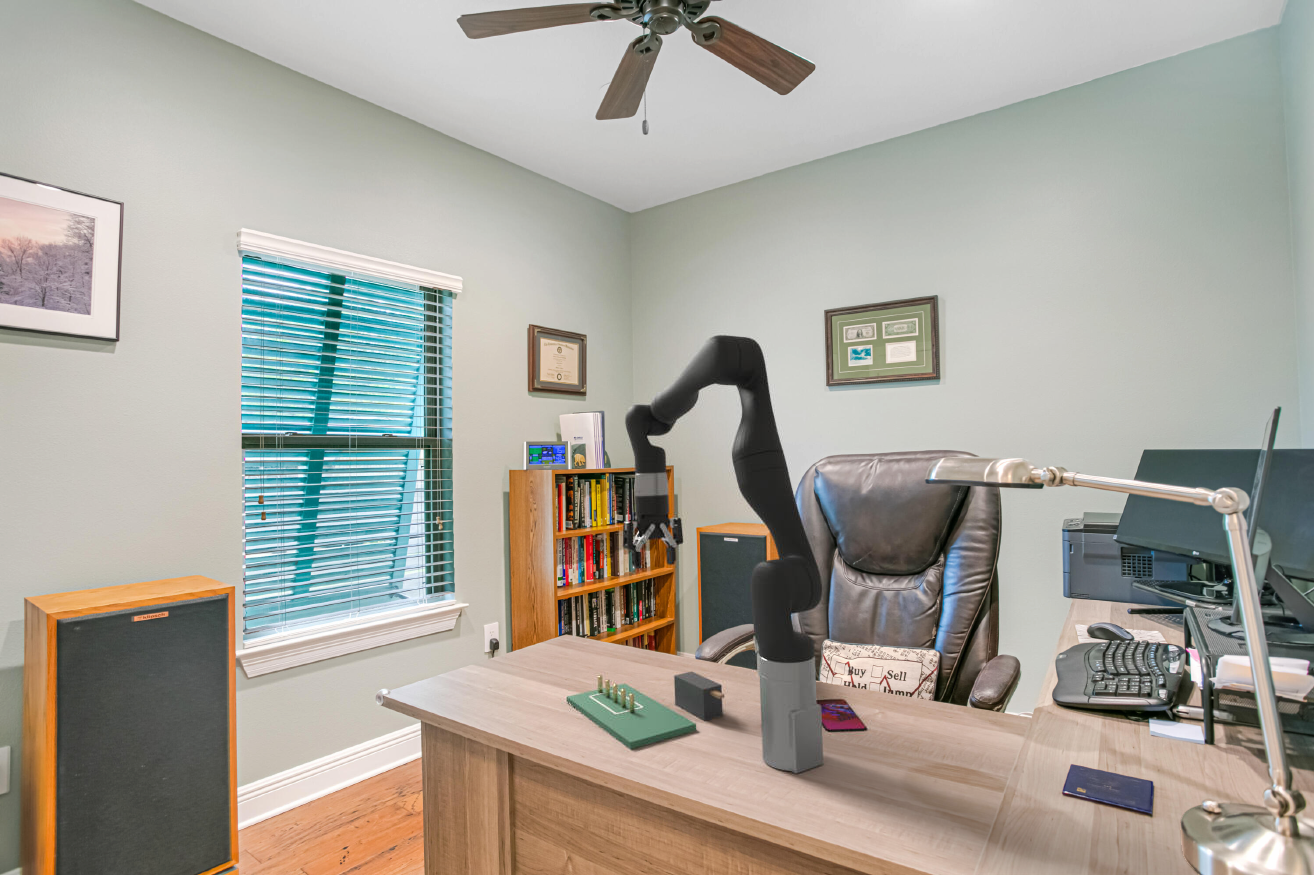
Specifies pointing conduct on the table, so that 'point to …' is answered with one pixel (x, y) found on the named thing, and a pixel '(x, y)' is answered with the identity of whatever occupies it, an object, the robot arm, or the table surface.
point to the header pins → (616, 694)
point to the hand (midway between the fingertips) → (654, 566)
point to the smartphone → (839, 716)
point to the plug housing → (698, 695)
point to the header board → (631, 717)
